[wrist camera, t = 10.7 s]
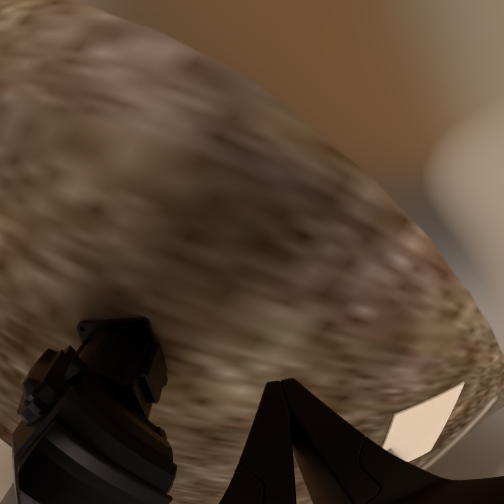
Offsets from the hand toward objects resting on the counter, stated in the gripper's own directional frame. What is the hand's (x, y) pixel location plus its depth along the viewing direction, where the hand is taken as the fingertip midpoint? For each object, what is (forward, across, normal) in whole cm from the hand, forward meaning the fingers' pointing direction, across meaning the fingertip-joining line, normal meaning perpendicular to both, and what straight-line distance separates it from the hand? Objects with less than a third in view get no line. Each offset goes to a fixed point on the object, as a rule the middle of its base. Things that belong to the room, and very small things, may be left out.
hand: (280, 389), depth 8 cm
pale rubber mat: (+12, -21, +29) cm, 38 cm away
